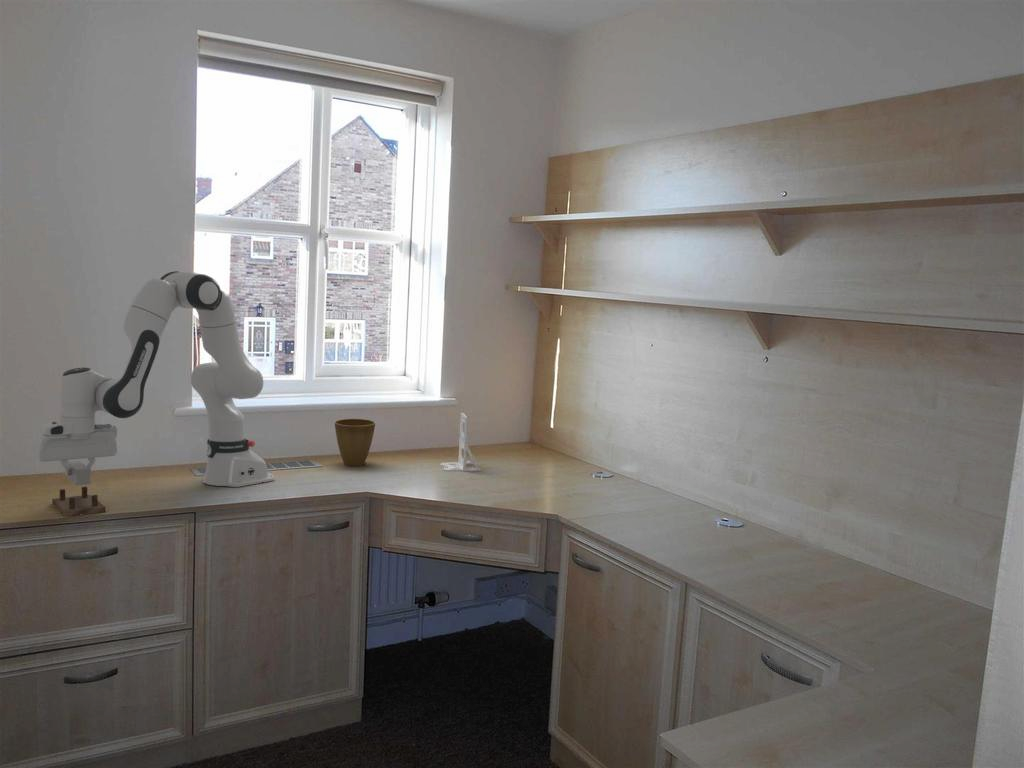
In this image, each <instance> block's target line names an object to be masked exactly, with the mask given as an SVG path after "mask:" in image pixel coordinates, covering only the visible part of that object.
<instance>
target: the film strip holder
mask: <svg viewBox="0 0 1024 768" xmlns="http://www.w3.org/2000/svg"><path fill="white" fill-rule="evenodd" d="M468 421H469V420H468V417H467V415H466V414H465V413H464V412H460V418H459V443H458V446H459V447H458V462H457V461H455V462H453V461H452V462H441V463H439V464H440V466H441V467H443V468H442V470H443V471H445V472H467V473H469V472H473V473H474V472H481V468H479V465H478V463H477V462H476V459H475V457H474V455H473V453H472V451H471V448H470V446H469V443H468V431H469V430H468V428H469V427H468ZM467 454H468V455H469V458H470V460H471V461H470V460H467ZM467 465H474V466H475V467H469V468H468V467H467Z"/></svg>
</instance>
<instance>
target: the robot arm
mask: <svg viewBox="0 0 1024 768" xmlns="http://www.w3.org/2000/svg"><path fill="white" fill-rule="evenodd" d="M230 297H231V296H230V294H229V293H228V292H227V291H225V289H222V288H221V287H220V285H219V283H218V282H217V281H216V279H214V278H213V277H211V276H210V275H207V274H205V273H204V274H202V273H198V272H193V271H177V270H175V271H170V272H167V273H164V274H163V275H162V276H161V277H160V278H151V279H148V280H147V281H146V282H145V283H144V284H143V286H142V287H141V289H139V290H138V292H137V294H136V295H135V296H134V299H132V302H131V305H130V306H129V308H128V311H127V312H126V315H125V316H124V317H125V318H124V320H123V326H122V327H123V331H124V334H125V335H126V337H127V338H128V340H129V342H130V345H131V351H130V352H131V353H130V356H129V358H128V360H127V363H126V366H125V368H124V370H123V373H122V375H121V377H120V378H119V379H115V378H112V377H111V378H110V377H108V376H106V375H103V374H100V373H99V372H96V371H95V370H93V369H92V368H91V367H75V368H70V369H68V370H66V371H64V372H63V373H62V375H61V377H60V384H59V385H60V386H59V404H60V408H61V409H60V412H59V419H57V420H56V419H55V420H54V421H51V422H48V423H45V424H42V425H41V426H40V431H41V434H40V435H39V436H38V438H37V444H36V458H37V460H38V461H40V462H42V463H43V462H44V463H45V462H56V461H57V462H59V461H60V462H59V463H60V465H61V466H62V467H63V468H64V475H65V477H66V476H67V475H72V469H71V468H68V467H67V466H66V464H67V463H68V462H69V461H70V460H80V459H87V461H88V463H87V465H86V466H87V467H89V468H90V474H91V473H92V472H91V471H92V470H91V469H92V467H93V466H94V464H95V462H96V458H105V457H106V458H107V457H115V456H116V454H117V453H118V447H117V446H118V444H117V439H116V438H117V435H118V428H117V427H116V426H115V425H114V424H111V423H107V424H101V423H100V424H96V412H97V411H102V412H104V413H107V414H110V415H111V416H113V417H115V418H119V419H128V418H130V417H132V416H135V415H136V414H137V413H138V412H139V411H140V410H141V408H142V407H143V403H144V396H145V386H146V382H147V380H148V378H149V374H150V372H151V369H152V368H153V364H154V362H155V360H156V359H155V358H156V356H157V353H158V351H159V346H160V342H161V338H162V337H163V333H164V331H165V329H166V327H167V325H168V323H169V320H170V318H171V315H172V313H173V312H174V310H175V309H177V308H178V307H179V308H184V309H194V310H196V312H197V315H198V323H199V324H198V325H199V328H200V330H199V331H200V334H201V341H202V347H203V349H204V350H205V352H206V354H209V355H210V357H212V358H213V360H214V361H215V362H211V361H210V362H204V363H199V364H197V365H196V366H195V367H194V368H193V370H192V371H191V373H190V384H191V386H192V388H193V390H195V392H196V393H197V394H198V395H199V396H200V398H201V400H202V401H203V404H204V406H205V410H206V413H207V422H208V439H207V441H206V442H207V443H206V444H207V445H206V456H207V462H206V468H205V473H204V478H203V480H202V482H203V483H204V484H206V485H210V486H217V487H218V486H219V487H232V488H239V487H245V486H252V485H256V484H262V482H263V483H266V482H267V483H269V482H273V481H275V476H274V475H273V474H272V473H271V472H268V466H267V463H266V461H265V459H263V458H262V457H261V456H259V455H258V454H257V453H255V452H254V451H252V450H251V449H250V448H253V447H254V446H255V445H256V442H255V441H254V440H251V439H250V440H249V439H247V438H246V437H245V417H244V414H243V412H241V410H240V409H239V408H238V407H237V406H236V404H235V402H234V400H233V399H238V400H246V399H253V398H256V397H258V396H259V395H260V393H262V390H263V388H264V378H263V375H262V372H261V371H260V370H259V369H258V368H256V367H255V366H254V365H253V364H252V362H251V361H250V360H249V359H248V357H247V356H246V354H245V352H244V350H243V347H242V345H241V343H240V342H241V341H240V336H239V332H238V327H237V320H236V315H235V310H234V307H233V303H232V300H231V298H230ZM68 460H69V461H68Z"/></svg>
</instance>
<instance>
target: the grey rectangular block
mask: <svg viewBox="0 0 1024 768" xmlns="http://www.w3.org/2000/svg"><path fill="white" fill-rule="evenodd" d="M66 466H67V467H68V468H71V469H72V475H67V476H66V475H65V477H66V478H67V479H68V480H69V481H70V482H72V483H73V484H74V485H75V486H86V485H91V473H90V468H89V467H87V465H86V464H84V463H83V462H82V461H80V460H75V461H72V460H71V461H70V460H69V461H68V463H67V464H66Z"/></svg>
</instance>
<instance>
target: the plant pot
mask: <svg viewBox="0 0 1024 768" xmlns="http://www.w3.org/2000/svg"><path fill="white" fill-rule="evenodd" d="M375 426H376V421H374V420H370V419H365V418H343V419H338V420H334V429H335V436H336V442H337V446H338V450H339V452H340V457H341V459H342V461H343V464H344V465H345V466H347V465H348V466H347V467H360V466H364V465H365V463H366V460H367V458H368V455H369V452H370V449H371V447H372V446H371V445H372V442H373V439H374V434H375V428H376V427H375Z"/></svg>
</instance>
